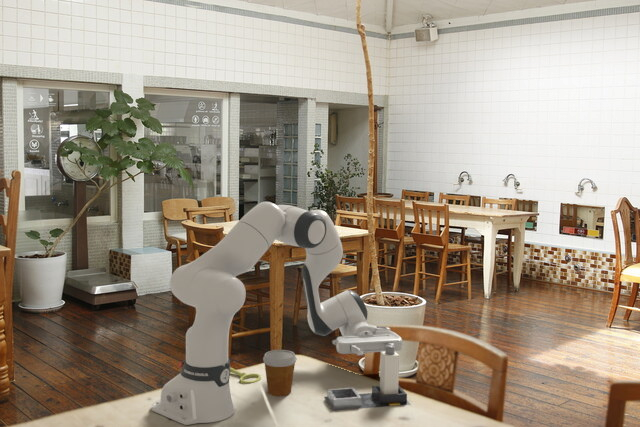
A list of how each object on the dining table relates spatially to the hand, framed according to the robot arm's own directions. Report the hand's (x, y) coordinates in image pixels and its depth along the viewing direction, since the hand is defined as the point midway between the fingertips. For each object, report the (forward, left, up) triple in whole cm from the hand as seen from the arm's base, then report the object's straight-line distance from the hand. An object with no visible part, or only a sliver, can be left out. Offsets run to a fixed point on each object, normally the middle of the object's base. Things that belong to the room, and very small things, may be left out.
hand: (376, 352), depth 203 cm
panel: (+3, -13, -11) cm, 17 cm away
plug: (+8, -9, -10) cm, 15 cm away
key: (-38, -14, -11) cm, 42 cm away
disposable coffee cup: (-21, -20, -11) cm, 31 cm away
